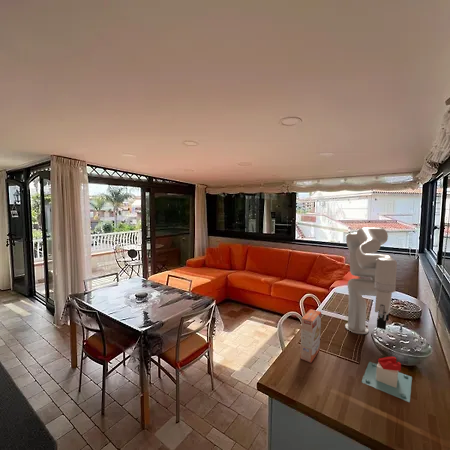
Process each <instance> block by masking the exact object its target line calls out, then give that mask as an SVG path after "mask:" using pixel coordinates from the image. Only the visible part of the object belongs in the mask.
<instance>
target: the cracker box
mask: <svg viewBox="0 0 450 450" xmlns="http://www.w3.org/2000/svg"><path fill="white" fill-rule="evenodd" d="M321 324H322V311H319V310H315V309H309V310H308V311H307V312H306V313H305V314H304V315H303V316H302V318H301V329H300V330H301V331H300V332H301V333H300V334H301V335H300V355H299V356H300V359H301V360H302V361H304V362H305V361H306V362H308V363H312V362H313V361H314V359H315V357H316V356H317V354H318V353H319V351H320V350H321V349H320V348H321V346H320V343H321V327H322V325H321Z"/></svg>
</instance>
